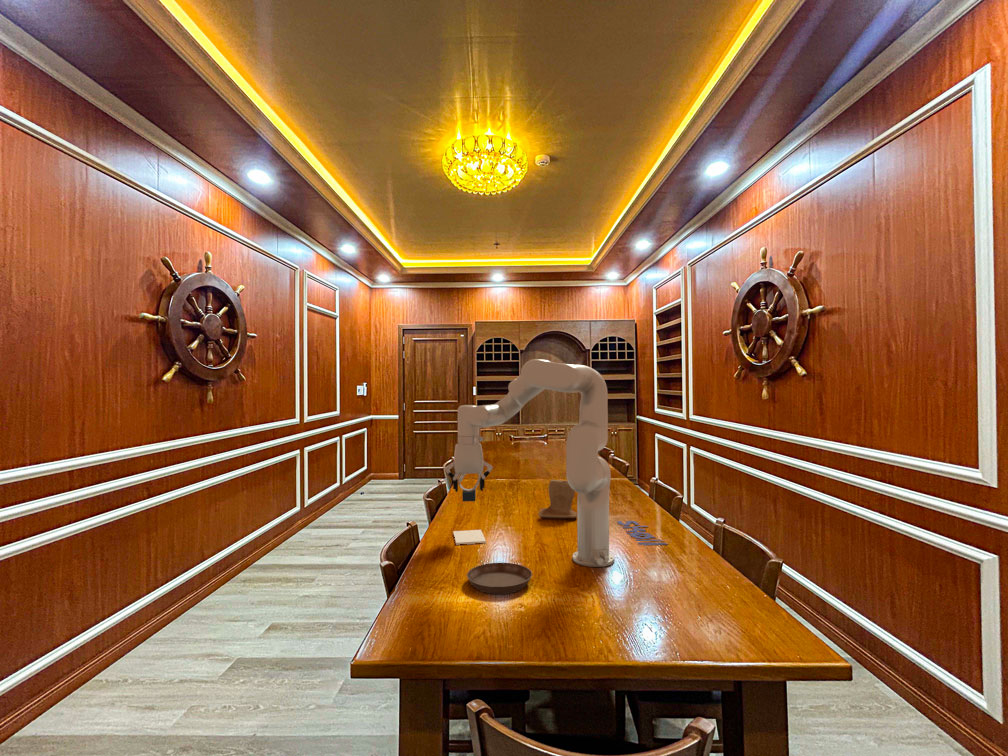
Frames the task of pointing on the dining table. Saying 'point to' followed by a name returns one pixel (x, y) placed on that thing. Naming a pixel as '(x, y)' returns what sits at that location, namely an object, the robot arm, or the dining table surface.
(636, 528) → the signage
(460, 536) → the pad
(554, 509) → the brown boot
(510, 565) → the plant saucer
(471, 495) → the watch
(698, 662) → the dining table surface
